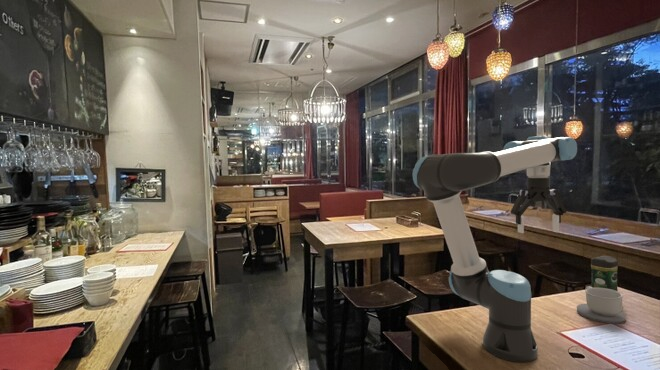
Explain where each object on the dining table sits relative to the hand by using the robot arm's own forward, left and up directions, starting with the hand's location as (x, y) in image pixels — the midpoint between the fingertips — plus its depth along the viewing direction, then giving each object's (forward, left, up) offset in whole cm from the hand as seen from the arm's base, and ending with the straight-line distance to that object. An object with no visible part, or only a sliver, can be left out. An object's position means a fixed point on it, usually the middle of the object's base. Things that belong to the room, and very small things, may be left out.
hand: (538, 232), depth 131 cm
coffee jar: (+35, +11, -32) cm, 49 cm away
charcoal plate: (+22, -3, -32) cm, 39 cm away
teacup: (+22, -3, -30) cm, 38 cm away
